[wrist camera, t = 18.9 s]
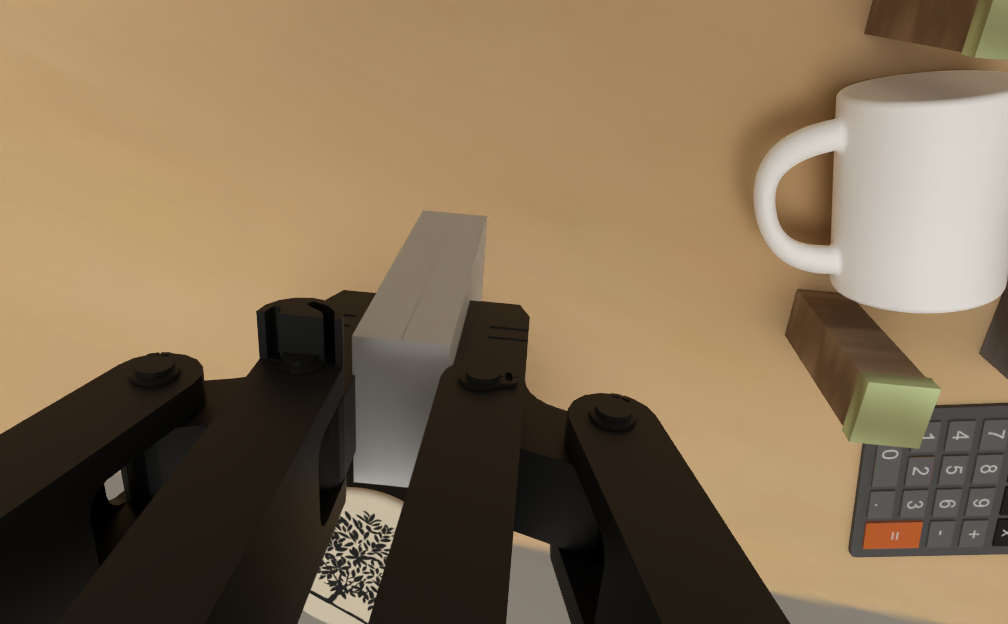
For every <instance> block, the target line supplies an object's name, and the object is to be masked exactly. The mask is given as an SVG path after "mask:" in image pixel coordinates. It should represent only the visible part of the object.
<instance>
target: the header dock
mask: <svg viewBox="0 0 1008 624" xmlns="http://www.w3.org/2000/svg"><path fill="white" fill-rule="evenodd" d="M864 34H869V35H874V36H879V37H885V38H890V39H895V40H901V41H906V42H912V43H917V44H922V45H928V46H933V47H938V48H944V49H949V50H954V51H960V52H962V53H961V55H964V56H969V57H974V58H986V59H997V60H1008V0H873V3H872V7H871V10H870V14H869V18H868V22H867V26H866V29H865V33H864ZM785 336H786V338H787V339H788V341H789V342H790V344H791V345H792V347H793V349H794V350H795V352H796V353H797V355H798V356H799V358H800V360H801V361H802V363H803V364H804V366H805V367H806V369H807V370H808V372H809V374H810V375H811V377H812V378H813V380H814V381H815V383H816V385H817V386H818V388H819V389H820V391H821V392H822V394H823V396H824V397H825V399H826V400H827V402H828V403H829V405H830V407H831V408H832V410H833V411H834V413H835V414H836V416H837V417H838V419H839V421H840V422H841V424H842V425H843V428H842V431H843V433H844V434H845V436H846V437H847V439H848V441H849V442H855V443H865V444H875V445H885V446H895V447H906V448H916V449H919V447H920V445H921V442H922V439H923V437H924V434H925V431H926V429H927V426H928V423H929V421H930V418H931V415H932V413H933V410H934V407H935V405H936V402H937V399H938V397H939V394H940V391H941V388H940V387H939V386H938V385H937V384H936V383H935V382H934V381H933V380H932V379H931V378H926V377H925V376H924V375H923V374H922V373H921V372H920V371H919V370H918V368H917V367H916V366H915V365H914V364H913V363H912V362H911V361H910V360H909V359H908V358H907V357H906V355H905V354H904V353H903V352H902V351H901V350H900V349H899V348H898V347H897V346H896V345H895V343H894V342H893V341H892V340H891V339H890V338H889V337H888V336H887V335H886V334H885V333H884V332H883V330H882V329H881V328H880V327H879V326H878V325H877V324H876V323H875V322H874V321H873V320H872V319H871V317H870V316H869V315H868V314H867V313H866V312H865V311H864V310H863V309H862V308H861V307H860V306H859V304H858V303H857V302H855V301H853V300H851V299H849V298H847V297H845V296H843V295H842V294H840V293H830V292H820V291H809V290H798V289H797V292H796V296H795V299H794V303H793V307H792V311H791V315H790V319H789V322H788V326H787V330H786V334H785ZM979 354H980V355H981V356H982V357H983V358H985V359H986V360H987V361H988V362H989V363H990V364H991V365H992V366H994V367H995V368H996V369H997V370H998V371H999V372H1000V373H1001V374H1002V375H1004V376H1005V377H1006V378H1007V379H1008V282H1007V284H1006V288H1005V290H1004V292H1003V295H1002V297H1001V300H1000V302H999V305H998V307H997V310H996V313H995V315H994V318H993V320H992V323H991V325H990V328H989V330H988V333H987V336H986V338H985V341H984V343H983V346H982V348H981V351H980V353H979Z"/></svg>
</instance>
